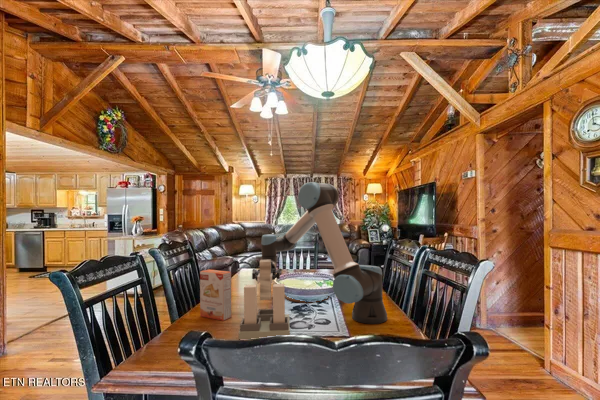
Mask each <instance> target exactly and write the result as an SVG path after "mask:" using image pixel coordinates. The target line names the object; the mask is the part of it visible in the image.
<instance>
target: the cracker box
mask: <svg viewBox="0 0 600 400" xmlns="http://www.w3.org/2000/svg"><path fill="white" fill-rule="evenodd" d="M199 289H200V290H199V297H200V298H199V300H200V301H199V303H200V304H199V306H200V307H199V310H200V313H199V314H200V315H199V316H200V317H202V318H208V319H213V320H217V321H222V322H224V321H227V320H228V319H230V318H232V315H233V313H232V272H231V271H228V270H227V271H226V270H216V269H204V270H201V271H199Z"/></svg>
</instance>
